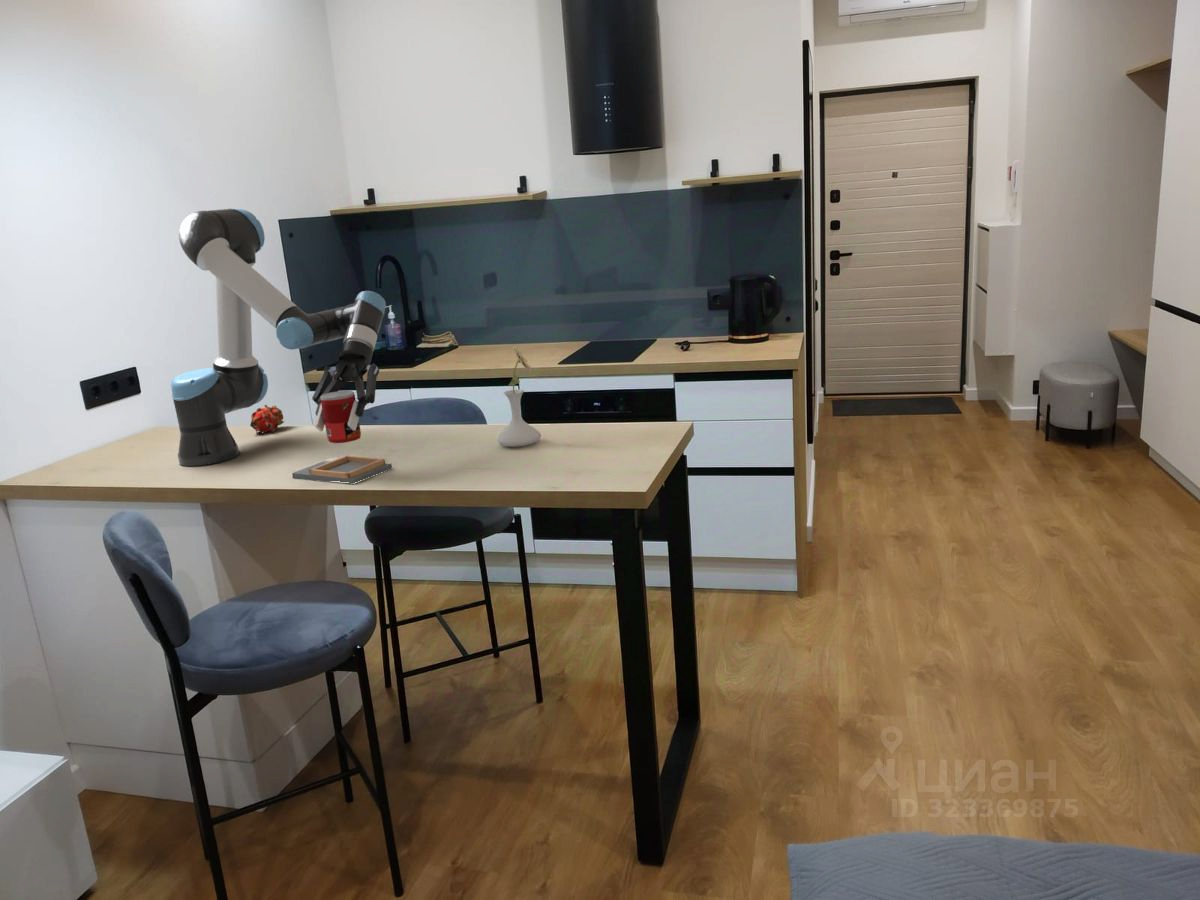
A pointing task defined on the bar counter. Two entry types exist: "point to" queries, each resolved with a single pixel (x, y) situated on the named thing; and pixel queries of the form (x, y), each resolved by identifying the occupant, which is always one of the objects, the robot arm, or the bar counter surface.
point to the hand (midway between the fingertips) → (334, 427)
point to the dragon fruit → (266, 419)
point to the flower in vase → (517, 415)
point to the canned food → (339, 416)
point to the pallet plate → (344, 469)
